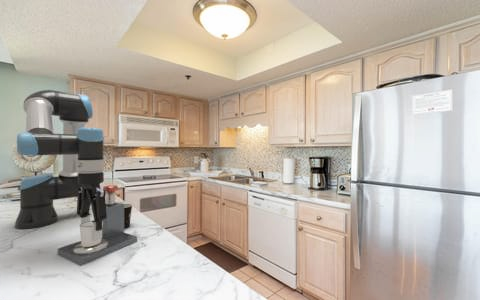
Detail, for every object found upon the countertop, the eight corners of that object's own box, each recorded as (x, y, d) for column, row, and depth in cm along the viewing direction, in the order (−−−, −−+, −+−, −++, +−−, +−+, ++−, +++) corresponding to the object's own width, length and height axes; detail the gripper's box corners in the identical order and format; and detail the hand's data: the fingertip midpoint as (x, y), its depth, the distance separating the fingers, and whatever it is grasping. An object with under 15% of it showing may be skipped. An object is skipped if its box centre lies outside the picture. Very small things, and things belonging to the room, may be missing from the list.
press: (57, 254, 75) (57, 214, 75) (114, 234, 93) (113, 201, 93) (80, 265, 68) (80, 221, 68) (137, 241, 86) (136, 206, 86)
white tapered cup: (87, 238, 79) (87, 219, 79) (106, 238, 80) (106, 219, 80) (74, 247, 73) (74, 227, 72) (95, 247, 73) (95, 227, 73)
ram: (100, 215, 87) (100, 186, 87) (113, 211, 92) (112, 184, 91) (108, 217, 85) (108, 187, 85) (120, 213, 89) (120, 185, 89)
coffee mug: (123, 231, 96) (123, 209, 96) (106, 230, 98) (106, 207, 98) (140, 222, 107) (140, 202, 107) (125, 221, 109) (125, 201, 109)
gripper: (64, 171, 77) (64, 235, 77) (95, 174, 68) (96, 247, 68) (87, 169, 84) (87, 228, 84) (118, 172, 75) (119, 238, 75)
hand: (91, 237), depth 76 cm, fingers closed on white tapered cup, 7 cm apart
